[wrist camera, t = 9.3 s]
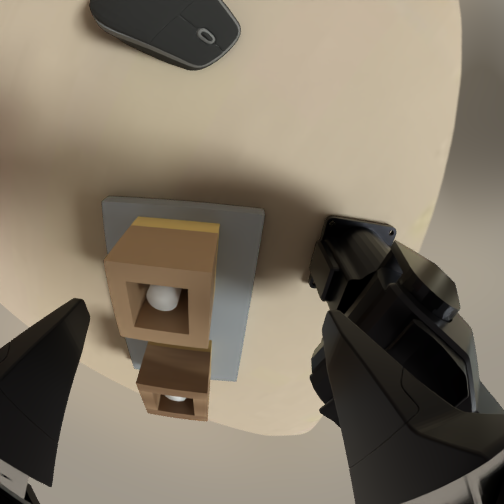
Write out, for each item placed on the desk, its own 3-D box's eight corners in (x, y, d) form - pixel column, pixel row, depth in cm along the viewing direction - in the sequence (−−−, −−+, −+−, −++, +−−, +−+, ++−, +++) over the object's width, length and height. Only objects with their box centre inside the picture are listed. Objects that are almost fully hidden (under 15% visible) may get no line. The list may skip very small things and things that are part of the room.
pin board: (108, 196, 18) (58, 239, 12) (263, 208, 20) (274, 261, 13) (136, 360, 28) (122, 411, 22) (236, 373, 29) (236, 427, 23)
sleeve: (210, 374, 28) (207, 421, 22) (157, 368, 27) (147, 413, 22) (211, 340, 25) (207, 393, 19) (150, 332, 24) (136, 383, 19)
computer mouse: (189, 91, 15) (175, 87, 12) (83, 16, 11) (56, 5, 7) (263, 25, 13) (268, 5, 10) (147, -46, 9) (131, -67, 5)
